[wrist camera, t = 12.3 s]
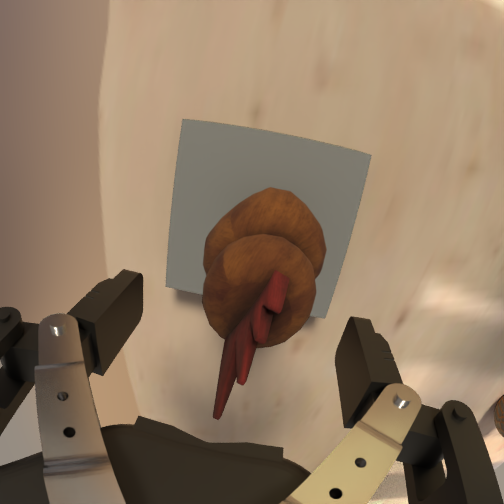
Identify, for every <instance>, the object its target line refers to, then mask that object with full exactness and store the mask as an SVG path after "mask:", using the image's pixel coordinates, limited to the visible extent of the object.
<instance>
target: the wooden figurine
mask: <svg viewBox="0 0 504 504" xmlns="http://www.w3.org/2000/svg"><path fill="white" fill-rule="evenodd" d="M326 251H327V249H326V244H325V239H324V235H323V230H322V228H321V225H320V223H319V222H318V220H317V219H316V218H315V216H314V215H313V213H312V212H311V211H310V209H309V208H308V207H307V205H306V204H305V203H304V202H303V201H301V200H300V199H299V198H298V197H297V196H296V195H294V194H293V193H292V192H291V191H287V190H282V189H277V188H272V187H269V188H267V189H264V190H262V191H260V192H257V193H255V194H252V195H251V196H249V197H248V198H246V199H245V200H243V201H242V202H240V203H239V204H237V205H236V206H235V207H234V208H232V209H231V210H230V211H229V212H228V213H227V214H225V215H224V216H223V217H222V218H221V219H220V220H219V221H218V223H217V224H216V225H215V226H214V227H213V229H212V230H211V231H210V233H209V234H208V236H207V237H206V241H205V247H204V257H203V267H204V270H205V273H206V278H205V281H204V284H203V297H202V303H203V307H204V310H205V313H206V316H207V319H208V321H209V324H210V326H211V327H212V328H213V329H214V330H215V331H216V332H217V333H218V335H219V336H220V337H221V338H223V339H225V342H224V348H223V354H222V360H221V366H220V372H219V379H218V385H217V392H216V398H215V405H214V412H213V418H215V419H217V420H219V419H220V417H221V415H222V413H223V411H224V408H225V405H226V403H227V400H228V398H229V395H230V393H231V390H232V387H233V385H234V382H235V380H236V377H237V383H238V384H241V385H244V384H245V382H246V380H247V377H248V374H249V371H250V367H251V364H252V360H253V357H254V354H255V350H256V348H263V347H271V346H274V345H277V344H280V343H283V342H285V341H286V340H288V339H289V338H290V337H291V336H293V335H294V334H295V333H296V332H298V331H299V330H300V329H301V328H302V326H303V325H304V323H305V322H306V321H307V319H308V318H309V316H310V314H311V311H312V308H313V304H314V300H315V297H316V283H315V279H316V278H317V277H318V275H319V274H320V272H321V270H322V267H323V263H324V259H325V255H326Z"/></svg>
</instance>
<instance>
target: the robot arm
mask: <svg viewBox="0 0 504 504" xmlns="http://www.w3.org/2000/svg"><path fill="white" fill-rule="evenodd" d="M142 313H143V275H142V274H141V273H138V272H133V271H129V270H125V269H123V270H122V271H121V272H120V273H119V274H118V275H117V276H116V277H115V278H114V279H110V278H109V279H107V280H104V281H102V282H100V283H98V284H97V285H96V286H95V287H94V288H93V289H92V290H91V291H90V292H89V293H88V294H86V297H83V298H82V299H81V300H80V301H79V302H78V303H77V304H76V305H75V306H74V307H73V308H72V309H71V310H70V311H69V312H68V313H67V314H61V313H59V314H53V315H50V316H47V317H46V318H44V319H43V320H42V321H41V322H40V324H35V323H27V322H22V318H21V314H20V312H19V311H18V310H17V309H15V308H13V307H2V308H0V360H1V363H2V365H3V366H2V367H1V368H0V436H1V434H2V432H3V431H4V429H5V428H6V426H7V424H8V423H9V421H10V420H11V418H12V417H13V415H14V414H15V412H16V410H17V409H18V407H19V406H20V405H21V403H22V402H23V400H24V399H25V397H26V396H27V394H28V393H29V392H30V390H31V389H32V387H33V386H34V384H35V391H36V404H37V415H38V424H39V432H40V439H41V446H42V452H39V453H36V454H34V455H31V456H29V457H25V458H23V459H20V460H17V461H14V462H11V463H8V464H5V465H2V466H0V504H367V503H368V501H369V500H370V499H371V497H372V496H373V494H374V493H375V491H376V490H377V488H378V487H379V485H380V484H381V482H382V481H383V479H384V478H385V476H386V475H387V473H388V472H389V470H390V468H391V467H392V465H393V463H394V462H395V460H396V461H400V462H403V466H404V473H405V480H406V487H407V495H408V503H409V504H504V503H503V499H502V496H501V492H500V489H499V485H498V482H497V479H496V475H495V472H494V469H493V466H492V463H491V460H490V457H489V454H488V451H487V448H486V445H485V442H484V440H483V437H482V434H481V432H480V429H479V426H478V424H477V421H476V419H475V416H474V414H473V412H472V411H471V409H470V408H469V407H468V406H467V405H465V404H464V403H462V402H460V401H456V400H451V401H447V402H446V403H445V404H444V405H443V406H442V408H441V409H436V408H433V407H429V406H426V405H423V404H421V399H420V397H419V395H418V394H417V393H416V392H415V391H414V390H413V389H412V388H410V387H408V386H406V385H404V384H403V382H402V379H401V376H400V374H399V371H398V368H397V365H396V363H395V361H394V357H393V355H392V353H391V350H390V347H389V344H388V342H387V341H386V340H385V339H384V338H383V337H382V335H381V334H379V333H375V331H374V328H373V326H372V323H371V320H370V319H365V318H359V317H352V316H351V317H350V318H349V320H348V322H347V325H346V327H345V330H344V332H343V335H342V337H341V340H340V342H339V345H338V347H337V350H336V355H335V367H336V373H337V380H338V387H339V394H340V401H341V409H342V416H343V424H344V428H352V429H351V430H350V432H349V433H348V434H347V435H346V436H345V438H344V439H343V440H342V441H341V442H340V443H339V445H338V446H337V447H336V448H335V449H334V450H333V451H332V452H331V454H330V455H329V456H328V457H327V458H326V459H325V460H324V461H323V462H322V463H321V464H320V465H319V467H318V468H317V469H316V470H315V471H314V472H313V473H312V474H311V473H310V472H309V471H307V470H306V469H305V468H303V467H302V466H300V465H298V464H296V463H294V462H292V461H290V460H288V459H285V458H283V448H281V447H274V446H267V445H260V444H254V443H248V442H245V443H209V442H205V441H203V440H200V439H198V438H196V437H194V436H192V435H190V434H188V433H186V432H184V431H182V430H180V429H178V428H176V427H174V426H171V425H168V424H164V423H161V422H158V421H154V420H151V419H148V418H144V417H141V416H138V418H137V420H136V423H135V424H134V425H132V424H118V425H110V426H106V427H102V428H101V426H100V422H99V418H98V415H97V411H96V407H95V403H94V400H93V395H92V391H91V387H90V382H89V376H90V375H91V373H92V372H93V373H96V374H99V375H101V376H103V375H104V374H105V372H106V370H107V369H108V368H109V366H110V364H111V363H112V362H113V360H114V359H115V357H116V356H117V354H118V353H119V351H120V350H121V348H122V347H123V345H124V344H125V342H126V341H127V339H128V338H129V336H130V335H131V334H132V332H133V331H134V329H135V328H136V326H137V325H138V323H139V322H140V320H141V317H142ZM443 459H444V460H445V464H446V468H447V477H446V478H445V473H444V469H443V465H442V460H443Z"/></svg>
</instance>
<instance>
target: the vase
mask: <svg viewBox="0 0 504 504" xmlns="http://www.w3.org/2000/svg"><path fill="white" fill-rule="evenodd" d="M494 421H495V425H496V428H497V430H498V432H499V433H500V434H501V435H502V436H503V437H504V396H503V397H502V398H501V399H500V400H499V401H498V403H497V405H496V408H495V412H494Z"/></svg>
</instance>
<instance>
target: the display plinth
mask: <svg viewBox="0 0 504 504" xmlns="http://www.w3.org/2000/svg"><path fill="white" fill-rule="evenodd" d="M370 159H371V155H370V154H367V153H363V152H360V151H356V150H352V149H348V148H345V147H341V146H336V145H332V144H328V143H324V142H320V141H315V140H311V139H306V138H302V137H297V136H292V135H287V134H282V133H277V132H271V131H266V130H260V129H255V128H249V127H242V126H236V125H229V124H222V123H215V122H207V121H199V120H190V119H183V120H182V126H181V133H180V140H179V147H178V155H177V162H176V170H175V179H174V188H173V197H172V207H171V217H170V228H169V240H168V254H167V269H166V287H169V288H174V289H178V290H182V291H187V292H191V293H196V294H200V295H203V284H204V281H205V278H206V273H205V270H204V267H203V257H204V247H205V241H206V237H207V236H208V234H209V233H210V231H211V230H212V229H213V227H214V226H215V225H216V224H217V223H218V221H219V220H220V219H221V218H222V217H223V216H224V215H225V214H227V213H228V212H229V211H230V210H231V209H232V208H234V207H235V206H236V205H237V204H239V203H240V202H242V201H243V200H245V199H246V198H248V197H249V196H251V195H252V194H255V193H257V192H260V191H262V190H264V189H267V188H269V187H272V188H277V189H282V190H287V191H291V192H292V193H293V194H294V195H296V196H297V197H298V198H299V199H300V200H301V201H303V202H304V203H305V204H306V205H307V207H308V208H309V209H310V211H311V212H312V213H313V215H314V216H315V218H316V219H317V220H318V222H319V223H320V225H321V228H322V230H323V235H324V239H325V244H326V249H327V251H326V255H325V259H324V263H323V267H322V270H321V272H320V274H319V275H318V277H317V278H316V279H315V283H316V297H315V300H314V304H313V308H312V311H311V314H310V316H313V317H319V318H325V317H326V315H327V312H328V309H329V306H330V303H331V300H332V297H333V294H334V290H335V287H336V284H337V281H338V278H339V275H340V271H341V268H342V265H343V262H344V258H345V255H346V252H347V248H348V245H349V241H350V238H351V234H352V231H353V227H354V223H355V220H356V216H357V212H358V208H359V205H360V201H361V197H362V193H363V189H364V185H365V181H366V176H367V172H368V168H369V164H370Z"/></svg>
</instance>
